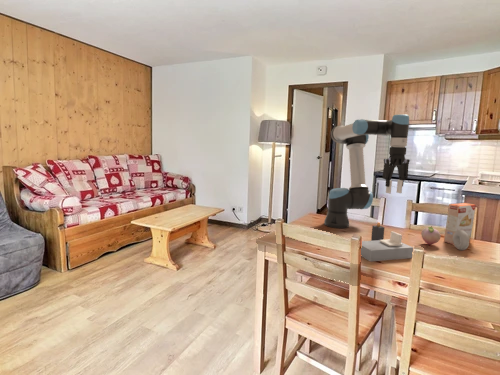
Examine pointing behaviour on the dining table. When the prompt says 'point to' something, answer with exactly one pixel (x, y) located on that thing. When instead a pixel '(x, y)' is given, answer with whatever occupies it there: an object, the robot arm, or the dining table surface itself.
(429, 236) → the decorative fruit
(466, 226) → the cracker box
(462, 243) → the donut
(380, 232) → the plug
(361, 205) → the robot arm
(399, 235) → the cream l-shaped bracket
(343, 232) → the dining table surface
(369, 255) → the socket housing
